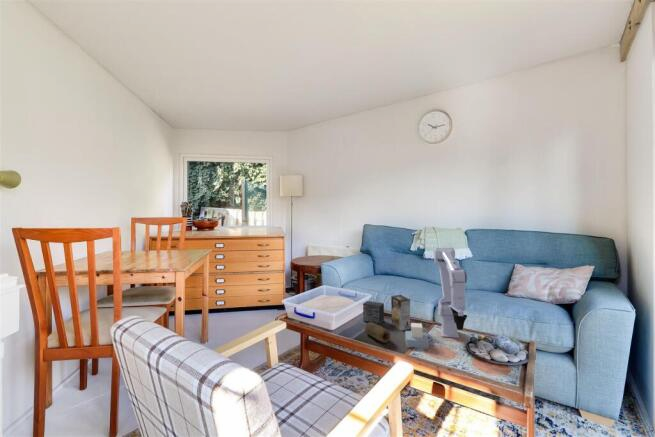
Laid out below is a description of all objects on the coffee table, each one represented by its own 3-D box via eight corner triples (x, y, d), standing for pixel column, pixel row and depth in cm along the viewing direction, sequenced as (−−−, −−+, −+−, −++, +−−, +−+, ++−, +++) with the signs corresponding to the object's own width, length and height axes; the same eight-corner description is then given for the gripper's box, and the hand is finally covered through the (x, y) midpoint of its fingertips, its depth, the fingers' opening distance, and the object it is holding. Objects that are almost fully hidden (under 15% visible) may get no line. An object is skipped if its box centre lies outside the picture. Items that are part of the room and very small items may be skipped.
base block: (405, 338, 151) (405, 330, 151) (426, 339, 149) (426, 331, 149) (406, 348, 141) (406, 339, 141) (429, 349, 140) (429, 341, 139)
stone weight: (393, 341, 147) (392, 328, 147) (381, 345, 144) (381, 331, 144) (373, 331, 160) (372, 318, 160) (362, 334, 157) (362, 321, 156)
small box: (384, 321, 173) (384, 302, 173) (380, 325, 168) (380, 306, 167) (367, 317, 179) (367, 300, 179) (363, 321, 174) (362, 303, 173)
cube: (411, 332, 148) (411, 322, 148) (421, 333, 147) (421, 323, 147) (411, 337, 144) (411, 326, 143) (422, 338, 142) (422, 327, 142)
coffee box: (391, 324, 168) (390, 295, 167) (400, 322, 170) (400, 294, 170) (400, 331, 159) (400, 300, 159) (411, 328, 162) (410, 299, 161)
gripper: (446, 291, 146) (447, 319, 146) (450, 301, 132) (451, 332, 132) (462, 292, 144) (462, 320, 144) (468, 301, 130) (468, 333, 130)
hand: (458, 326), depth 138 cm, fingers open, 7 cm apart
